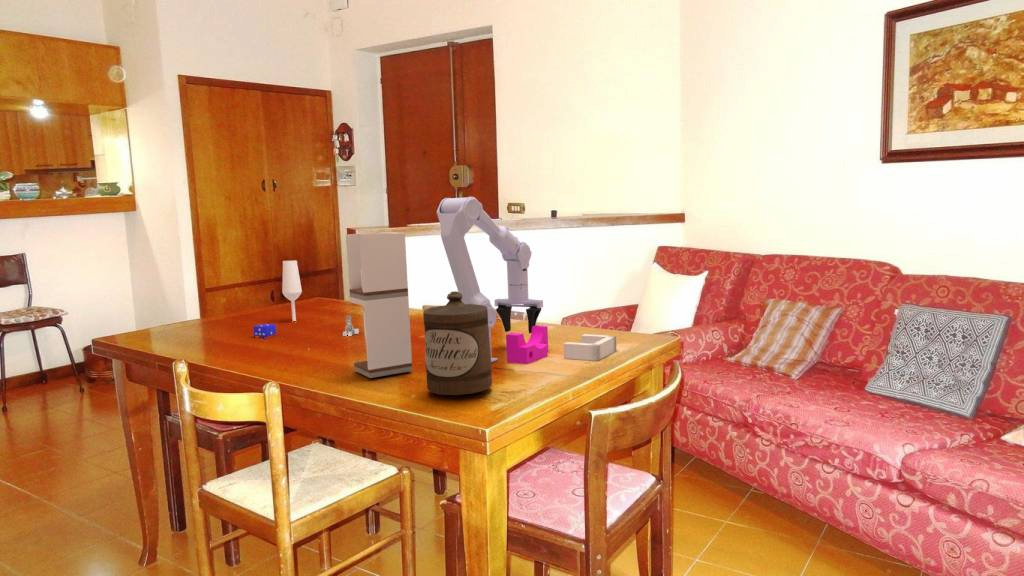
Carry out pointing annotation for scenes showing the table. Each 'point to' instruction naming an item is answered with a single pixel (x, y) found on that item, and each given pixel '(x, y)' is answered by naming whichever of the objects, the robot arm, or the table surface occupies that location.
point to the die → (264, 330)
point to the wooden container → (457, 347)
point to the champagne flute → (291, 283)
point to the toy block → (527, 346)
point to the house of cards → (350, 328)
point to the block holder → (590, 347)
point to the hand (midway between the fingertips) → (519, 332)
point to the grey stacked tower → (381, 300)
